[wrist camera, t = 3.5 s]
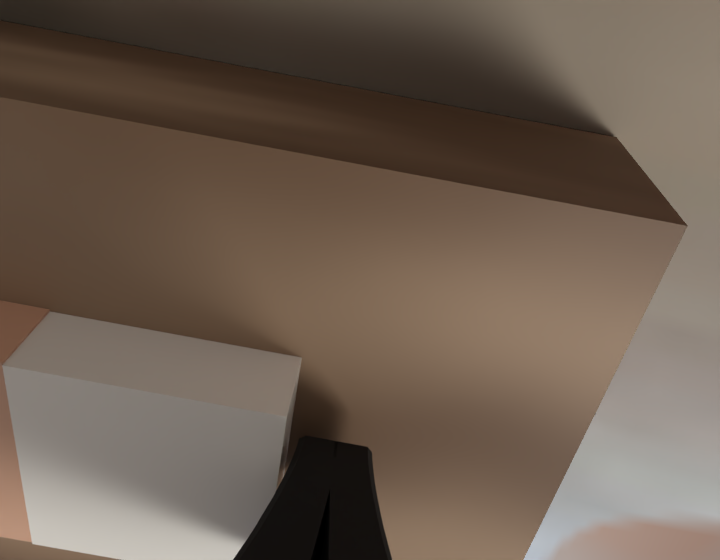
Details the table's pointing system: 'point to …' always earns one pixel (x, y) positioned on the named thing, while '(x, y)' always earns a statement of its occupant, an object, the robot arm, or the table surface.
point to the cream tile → (146, 438)
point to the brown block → (341, 262)
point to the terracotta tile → (3, 480)
